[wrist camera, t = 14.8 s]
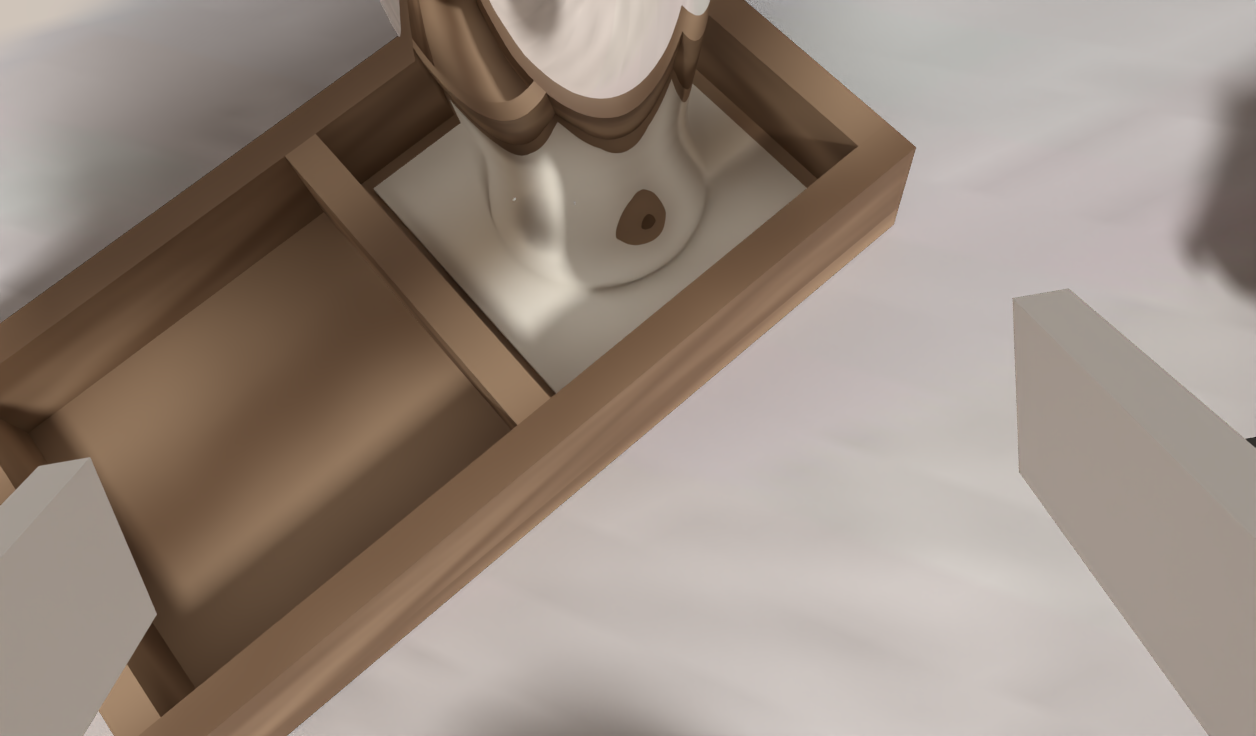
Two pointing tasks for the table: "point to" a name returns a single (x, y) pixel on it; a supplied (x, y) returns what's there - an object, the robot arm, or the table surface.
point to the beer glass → (574, 123)
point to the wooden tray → (398, 364)
